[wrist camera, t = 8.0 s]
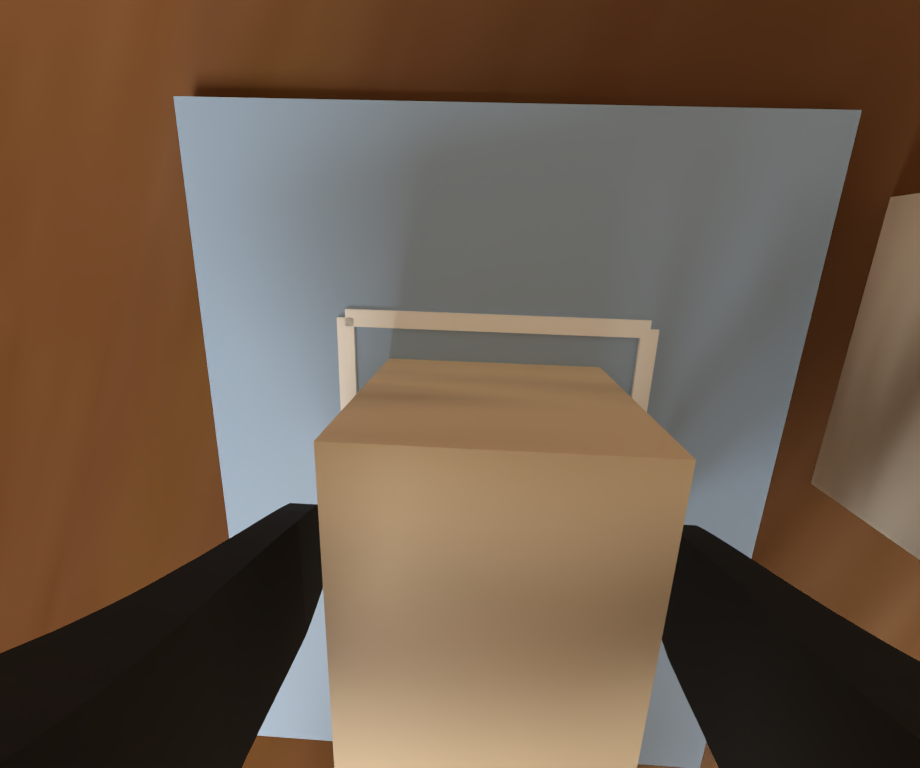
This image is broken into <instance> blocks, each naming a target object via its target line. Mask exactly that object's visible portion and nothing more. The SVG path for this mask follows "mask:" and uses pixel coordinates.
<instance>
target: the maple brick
mask: <svg viewBox="0 0 920 768" xmlns="http://www.w3.org/2000/svg"><path fill="white" fill-rule="evenodd" d="M314 455H315V470H316V486H317V502H318V518H319V533H320V549H321V565H322V580H323V596H324V612H325V628H326V643H327V659H328V675H329V691H330V706H331V722H332V738H333V753H334V768H637V765H638V760H639V755H640V749H641V744H642V739H643V734H644V729H645V723H646V718H647V713H648V708H649V703H650V697H651V692H652V687H653V682H654V677H655V671H656V666H657V661H658V656H659V651H660V645H661V640H662V635H663V630H664V624H665V619H666V614H667V609H668V604H669V598H670V593H671V588H672V583H673V578H674V572H675V567H676V562H677V557H678V552H679V546H680V541H681V536H682V531H683V526H684V520H685V515H686V510H687V505H688V499H689V494H690V489H691V484H692V479H693V473H694V468H695V463H696V459H695V458H694V457H692V456H691V455H690V454H689V453H688V452H687V451H686V450H685V449H684V448H683V447H682V446H681V445H680V444H679V443H678V442H677V441H676V440H675V439H674V438H673V437H672V436H671V435H670V434H669V433H668V432H667V431H666V430H664V429H663V428H662V427H661V426H660V425H659V424H658V423H657V422H656V421H655V420H654V419H653V418H652V417H651V416H650V415H649V414H648V413H647V412H646V411H645V410H644V409H643V408H642V407H641V406H640V405H639V404H638V403H636V402H635V401H634V400H633V399H632V398H631V397H630V396H629V395H628V394H627V393H626V392H625V391H624V390H623V389H622V388H621V387H620V386H619V385H618V384H617V383H616V382H615V381H614V380H613V379H612V378H611V377H610V376H608V375H607V374H606V373H605V372H604V371H603V370H602V369H601V368H600V367H583V366H559V365H535V364H511V363H487V362H462V361H438V360H414V359H390V358H389V359H388V360H387V361H386V362H385V363H384V364H383V366H382V367H381V368H380V369H379V370H378V371H377V372H376V373H375V374H374V375H373V377H372V378H371V379H370V380H369V381H368V382H367V383H366V384H365V385H364V386H363V388H362V389H361V390H360V391H359V392H358V393H357V394H356V395H355V396H354V397H353V399H352V400H351V401H350V402H349V403H348V404H347V405H346V406H345V407H344V408H343V410H342V411H341V412H340V413H339V414H338V415H337V416H336V417H335V418H334V419H333V421H332V422H331V423H330V424H329V425H328V426H327V427H326V428H325V429H324V430H323V432H322V433H321V434H320V435H319V436H318V437H317V438H316V439H315V440H314Z"/></svg>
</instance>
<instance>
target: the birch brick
mask: <svg viewBox="0 0 920 768" xmlns="http://www.w3.org/2000/svg"><path fill="white" fill-rule="evenodd" d="M811 484H812V485H813V486H815V487H816V488H818V489H819V490H820V491H822V492H823V493H825V494H826V495H828V496H829V497H830V498H832V499H833V500H835V501H836V502H838V503H839V504H840V505H842V506H843V507H845V508H846V509H848V510H849V511H850V512H852V513H853V514H855V515H856V516H858V517H859V518H860V519H862V520H863V521H865V522H866V523H867V524H869V525H870V526H872V527H873V528H875V529H876V530H877V531H879V532H880V533H882V534H883V535H885V536H886V537H887V538H889V539H890V540H892V541H893V542H895V543H896V544H897V545H899V546H900V547H902V548H903V549H905V550H906V551H907V552H909V553H910V554H912V555H913V556H915V557H916V558H917V559H919V560H920V193H916V194H909V195H902V196H895V197H890V200H889V204H888V207H887V211H886V214H885V218H884V222H883V225H882V229H881V232H880V236H879V240H878V243H877V247H876V250H875V254H874V258H873V261H872V265H871V268H870V272H869V276H868V279H867V283H866V286H865V290H864V294H863V297H862V301H861V304H860V308H859V312H858V315H857V319H856V322H855V326H854V330H853V333H852V337H851V340H850V344H849V348H848V351H847V355H846V358H845V362H844V366H843V369H842V373H841V376H840V380H839V384H838V387H837V391H836V394H835V398H834V402H833V405H832V409H831V412H830V416H829V420H828V423H827V427H826V430H825V434H824V438H823V441H822V445H821V448H820V452H819V456H818V459H817V463H816V466H815V470H814V474H813V477H812V481H811Z"/></svg>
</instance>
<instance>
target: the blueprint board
mask: <svg viewBox="0 0 920 768" xmlns="http://www.w3.org/2000/svg"><path fill="white" fill-rule="evenodd" d="M173 97H174V105H175V113H176V120H177V128H178V136H179V144H180V152H181V160H182V168H183V176H184V184H185V192H186V199H187V207H188V215H189V223H190V231H191V239H192V247H193V255H194V263H195V271H196V278H197V286H198V294H199V302H200V310H201V318H202V326H203V334H204V342H205V350H206V357H207V365H208V373H209V381H210V389H211V397H212V405H213V413H214V421H215V429H216V436H217V444H218V452H219V460H220V468H221V476H222V484H223V492H224V500H225V508H226V515H227V523H228V531H229V539H230V538H231V537H233V536H234V535H236V534H238V533H239V532H241V531H243V530H244V529H246V528H248V527H249V526H251V525H252V524H254V523H256V522H257V521H259V520H261V519H262V518H264V517H266V516H267V515H269V514H271V513H272V512H274V511H276V510H277V509H279V508H281V507H283V506H285V505H287V504H289V503H300V504H318V502H317V486H316V470H315V455H314V440H315V439H316V438H317V437H318V436H319V435H320V434H321V433H322V432H323V430H324V429H325V428H326V427H327V426H328V425H329V424H330V423H331V422H332V421H333V419H334V418H335V417H336V416H337V415H338V414H339V413H340V412H341V411H342V410H343V408H344V407H345V406H346V405H347V404H348V403H349V402H350V401H351V400H352V399H353V397H354V396H355V395H356V394H357V393H358V392H359V391H360V390H361V389H362V388H363V386H364V385H365V384H366V383H367V382H368V381H369V380H370V379H371V378H372V377H373V375H374V374H375V373H376V372H377V371H378V370H379V369H380V368H381V367H382V366H383V364H384V363H385V362H386V361H387V360H388V359H389V358H390V359H414V360H438V361H462V362H487V363H511V364H535V365H559V366H583V367H600V368H601V369H602V370H603V371H604V372H605V373H606V374H607V375H608V376H610V377H611V378H612V379H613V380H614V381H615V382H616V383H617V384H618V385H619V386H620V387H621V388H622V389H623V390H624V391H625V392H626V393H627V394H628V395H629V396H630V397H631V398H632V399H633V400H634V401H635V402H636V403H638V404H639V405H640V406H641V407H642V408H643V409H644V410H645V411H646V412H647V413H648V414H649V415H650V416H651V417H652V418H653V419H654V420H655V421H656V422H657V423H658V424H659V425H660V426H661V427H662V428H663V429H664V430H666V431H667V432H668V433H669V434H670V435H671V436H672V437H673V438H674V439H675V440H676V441H677V442H678V443H679V444H680V445H681V446H682V447H683V448H684V449H685V450H686V451H687V452H688V453H689V454H690V455H691V456H692V457H694V458H695V459H696V463H695V468H694V473H693V479H692V484H691V489H690V494H689V499H688V505H687V510H686V515H685V520H684V525H697V526H699V527H701V528H703V529H704V530H706V531H708V532H710V533H711V534H713V535H715V536H716V537H718V538H720V539H721V540H723V541H724V542H726V543H727V544H729V545H731V546H732V547H734V548H735V549H737V550H738V551H740V552H741V553H743V554H744V555H746V556H747V557H749V558H752V554H753V550H754V546H755V542H756V538H757V534H758V530H759V526H760V522H761V518H762V514H763V510H764V506H765V502H766V497H767V493H768V489H769V485H770V481H771V477H772V473H773V469H774V465H775V461H776V457H777V453H778V449H779V445H780V441H781V437H782V433H783V428H784V424H785V420H786V416H787V412H788V408H789V404H790V400H791V396H792V392H793V388H794V384H795V380H796V376H797V372H798V368H799V364H800V359H801V355H802V351H803V347H804V343H805V339H806V335H807V331H808V327H809V323H810V319H811V315H812V311H813V307H814V303H815V299H816V295H817V290H818V286H819V282H820V278H821V274H822V270H823V266H824V262H825V258H826V254H827V250H828V246H829V242H830V238H831V234H832V230H833V226H834V221H835V217H836V213H837V209H838V205H839V201H840V197H841V193H842V189H843V185H844V181H845V177H846V173H847V169H848V165H849V161H850V157H851V152H852V148H853V144H854V140H855V136H856V132H857V128H858V124H859V120H860V116H861V112H862V110H839V109H789V108H739V107H688V106H638V105H588V104H538V103H488V102H438V101H388V100H338V99H288V98H237V97H187V96H173ZM257 735H259V736H273V737H286V738H299V739H312V740H325V741H333V738H332V722H331V706H330V691H329V675H328V659H327V643H326V628H325V612H324V596H323V589H322V592H321V595H320V598H319V601H318V604H317V607H316V610H315V613H314V615H313V618H312V621H311V624H310V626H309V629H308V632H307V634H306V636H305V639H304V641H303V643H302V645H301V647H300V649H299V651H298V653H297V655H296V657H295V659H294V661H293V663H292V666H291V668H290V670H289V672H288V674H287V676H286V678H285V680H284V682H283V684H282V686H281V688H280V690H279V692H278V694H277V696H276V698H275V700H274V702H273V704H272V706H271V708H270V710H269V712H268V714H267V716H266V718H265V720H264V722H263V724H262V726H261V728H260V730H259V732H258V734H257ZM705 745H706V739H705V737H704V735H703V733H702V731H701V728H700V726H699V724H698V722H697V720H696V718H695V716H694V714H693V711H692V709H691V707H690V705H689V703H688V701H687V699H686V696H685V694H684V692H683V690H682V688H681V686H680V683H679V681H678V679H677V677H676V675H675V673H674V670H673V668H672V666H671V664H670V661H669V659H668V657H667V654H666V651H665V648H664V645H663V642H662V640H661V645H660V651H659V656H658V661H657V666H656V671H655V677H654V682H653V687H652V692H651V697H650V703H649V708H648V713H647V718H646V723H645V729H644V734H643V739H642V744H641V749H640V755H639V760H638V764H643V765H656V766H669V767H683V768H700V765H701V761H702V757H703V753H704V749H705Z"/></svg>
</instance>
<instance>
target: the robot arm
mask: <svg viewBox="0 0 920 768" xmlns="http://www.w3.org/2000/svg"><path fill="white" fill-rule="evenodd" d="M322 589H323V580H322V565H321V549H320V533H319V518H318V504H300V503H289V504H287V505H285V506H283V507H281V508H279V509H277V510H276V511H274V512H272V513H271V514H269V515H267V516H266V517H264V518H262V519H261V520H259V521H257V522H256V523H254V524H252V525H251V526H249V527H248V528H246V529H244V530H243V531H241V532H239V533H238V534H236V535H234V536H233V537H231V538H230V539H228V540H226V541H225V542H223V543H221V544H220V545H218V546H216V547H215V548H213V549H211V550H210V551H208V552H206V553H205V554H203V555H201V556H200V557H198V558H196V559H194V560H192V561H191V562H189V563H187V564H185V565H184V566H182V567H180V568H178V569H176V570H175V571H173V572H171V573H169V574H167V575H166V576H164V577H162V578H160V579H159V580H157V581H155V582H153V583H151V584H150V585H148V586H146V587H144V588H142V589H140V590H138V591H136V592H135V593H133V594H131V595H129V596H127V597H125V598H123V599H121V600H119V601H117V602H115V603H113V604H111V605H109V606H107V607H105V608H102V609H100V610H98V611H96V612H94V613H92V614H90V615H88V616H86V617H83V618H81V619H79V620H77V621H75V622H73V623H71V624H69V625H66V626H64V627H62V628H60V629H58V630H55V631H53V632H51V633H48V634H46V635H43V636H41V637H39V638H36V639H34V640H31V641H29V642H27V643H24V644H22V645H19V646H17V647H15V648H12V649H10V650H7V651H5V652H3V653H0V768H242V766H243V764H244V761H245V759H246V757H247V755H248V753H249V751H250V749H251V747H252V745H253V743H254V740H255V738H256V736H257V734H258V732H259V730H260V728H261V726H262V724H263V722H264V720H265V718H266V716H267V714H268V712H269V710H270V708H271V706H272V704H273V702H274V700H275V698H276V696H277V694H278V692H279V690H280V688H281V686H282V684H283V682H284V680H285V678H286V676H287V674H288V672H289V670H290V668H291V666H292V663H293V661H294V659H295V657H296V655H297V653H298V651H299V649H300V647H301V645H302V643H303V641H304V639H305V636H306V634H307V632H308V629H309V626H310V624H311V621H312V618H313V615H314V613H315V610H316V607H317V604H318V601H319V598H320V595H321V592H322ZM662 642H663V645H664V648H665V651H666V654H667V657H668V659H669V661H670V664H671V666H672V668H673V670H674V673H675V675H676V677H677V679H678V681H679V683H680V686H681V688H682V690H683V692H684V694H685V696H686V699H687V701H688V703H689V705H690V707H691V709H692V711H693V714H694V716H695V718H696V720H697V722H698V724H699V726H700V728H701V731H702V733H703V735H704V737H705V739H706V741H707V743H708V745H709V748H710V750H711V752H712V754H713V756H714V758H715V760H716V762H717V765H718V767H719V768H920V661H918V660H916V659H914V658H912V657H910V656H908V655H907V654H905V653H903V652H901V651H900V650H898V649H896V648H894V647H892V646H891V645H889V644H887V643H885V642H884V641H882V640H880V639H878V638H877V637H875V636H873V635H872V634H870V633H868V632H867V631H865V630H863V629H862V628H860V627H858V626H857V625H855V624H853V623H852V622H850V621H848V620H847V619H845V618H843V617H842V616H840V615H838V614H836V613H835V612H833V611H832V610H830V609H828V608H827V607H825V606H824V605H822V604H820V603H819V602H817V601H816V600H814V599H812V598H811V597H809V596H808V595H806V594H804V593H803V592H801V591H800V590H798V589H797V588H795V587H793V586H792V585H790V584H789V583H787V582H786V581H784V580H783V579H781V578H780V577H778V576H776V575H775V574H773V573H772V572H770V571H769V570H767V569H766V568H764V567H763V566H761V565H760V564H758V563H757V562H755V561H754V560H752V559H751V558H749V557H747V556H746V555H744V554H743V553H741V552H740V551H738V550H737V549H735V548H734V547H732V546H731V545H729V544H727V543H726V542H724V541H723V540H721V539H720V538H718V537H716V536H715V535H713V534H711V533H710V532H708V531H706V530H704V529H703V528H701V527H699V526H697V525H684V526H683V531H682V536H681V541H680V546H679V552H678V557H677V562H676V567H675V572H674V578H673V583H672V588H671V593H670V598H669V604H668V609H667V614H666V619H665V624H664V630H663V635H662Z"/></svg>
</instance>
